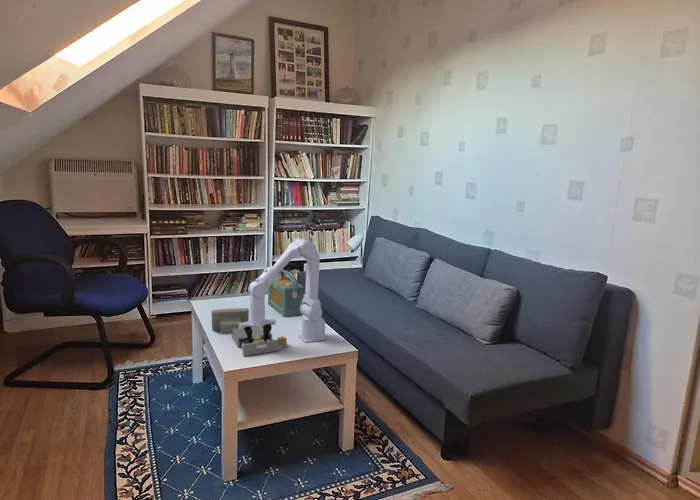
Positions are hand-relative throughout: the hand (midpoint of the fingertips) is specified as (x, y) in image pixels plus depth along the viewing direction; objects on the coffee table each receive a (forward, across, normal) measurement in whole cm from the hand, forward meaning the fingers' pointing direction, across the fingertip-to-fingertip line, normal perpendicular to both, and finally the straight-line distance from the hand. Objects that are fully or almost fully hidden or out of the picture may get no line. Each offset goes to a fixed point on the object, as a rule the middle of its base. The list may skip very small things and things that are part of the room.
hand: (257, 343), depth 191 cm
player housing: (+2, 0, +10) cm, 10 cm away
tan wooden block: (+2, +10, -1) cm, 10 cm away
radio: (+2, +27, +46) cm, 53 cm away
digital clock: (+2, -6, +25) cm, 26 cm away
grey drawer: (+2, 0, 0) cm, 2 cm away
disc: (-1, 0, 0) cm, 1 cm away
